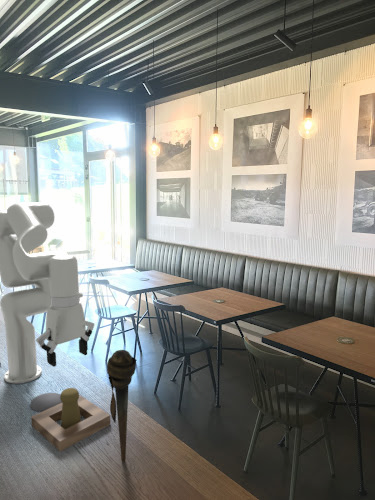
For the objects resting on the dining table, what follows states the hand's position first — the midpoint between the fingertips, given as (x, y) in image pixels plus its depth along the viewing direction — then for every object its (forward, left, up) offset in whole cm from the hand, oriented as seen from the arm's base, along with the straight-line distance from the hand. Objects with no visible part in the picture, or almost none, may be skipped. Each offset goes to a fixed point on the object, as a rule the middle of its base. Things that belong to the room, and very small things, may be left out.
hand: (68, 359), depth 110 cm
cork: (0, 0, -21) cm, 21 cm away
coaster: (-16, +1, -21) cm, 26 cm away
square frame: (0, 0, -21) cm, 21 cm away
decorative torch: (+23, +1, -21) cm, 31 cm away
